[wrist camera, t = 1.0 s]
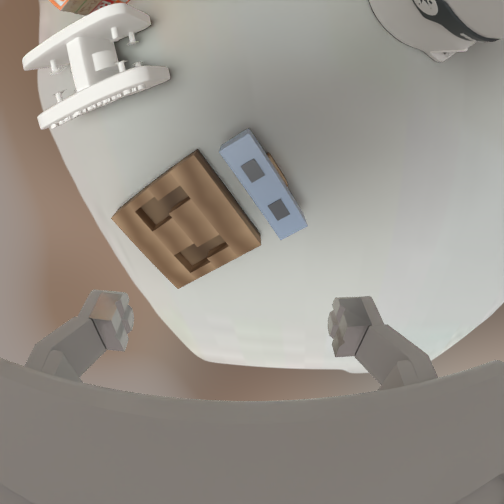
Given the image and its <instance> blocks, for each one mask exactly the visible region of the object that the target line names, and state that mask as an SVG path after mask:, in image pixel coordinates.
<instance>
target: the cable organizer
mask: <svg viewBox="0 0 504 504" xmlns="http://www.w3.org/2000/svg"><path fill="white" fill-rule="evenodd" d="M150 25H151V22H150V17H149V15H148V14H146V13H144V12H142V11H140V10H138V9H136V8H134V7H132V6H130V5H128V4H126V3H116V4H111V5H108V6H105V7H102V8H100V9H98V10H96V11H94V12H92V13H90V14H88V15H87V16H85V17H83V18H81V19H79V20H77V21H76V22H74V23H72V24H71V25H69V26H67V27H66V28H64V29H62V30H61V31H59V32H58V33H56V34H54V35H53V36H51V37H50V38H48V39H47V40H45V41H44V42H42V43H41V44H40V45H38V46H37V47H35V48H34V49H33V50H31V51H30V52H29V53H27V54H26V55H25V56H24V58H23V59H22V63H23V68H24V70H33V69H41V68H49V67H51V68H52V72H51V73H52V74H51V75H54V74H57V73H59V72H61V71H62V70H63V69H65V68H66V67H65V68H62V69H61V68H59V69H58V68H57V67H59V66H64V65H67V64H70V66H71V70H72V74H73V79H74V83H75V87H76V91H77V93H75V94H73V95H71V96H69V97H68V98H66V99H64V100H63V98H62V94H61V93H63V92H64V91H66V90H64V91H60V92H58V93H56V94H54V95H55V96H56V99H57V102H58V103H57V104H55V105H53V106H52V107H50V108H48V109H47V110H45V111H44V112H42V113H41V114H40V115H39V116H38V117H37V118H38V122H39V125H40V129H46V128H49V127H51V128H52V129H53V128H55V127H57V126H59V125H62V124H63V123H66V122H67V121H69V120H72V119H73V118H76V117H78V116H80V115H82V114H85V113H87V112H89V111H92V110H94V109H96V108H98V107H101V106H104V105H107V104H109V103H112V102H113V101H115V100H117V99H120V98H122V97H125V96H129V95H132V94H135V93H137V92H140V91H143V90H146V89H149V88H151V87H153V86H156V85H158V84H161V83H163V82H166V81H168V80H169V79H170V74H169V70H168V67H162V66H148V65H145V66H141V63H143V62H141V61H140V62H137V63H134V65H135V66H136V67H134V68H131V69H128V70H126V69H125V65H124V62H127V61H124V60H123V61H120V62H118V58H117V54H116V50H115V45H114V42H115V41H118V40H120V39H122V38H124V37H127V36H129V40H130V42H129V43H128V44H127V45H131V44H135V43H137V42H140V41H137V42H136V40H135V36H134V33H137V32H139V31H141V30H144V29H146V28H147V27H149V26H150ZM132 66H133V65H132ZM51 75H50V76H51Z"/></svg>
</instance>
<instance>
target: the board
mask: <svg viewBox="0 0 504 504" xmlns="http://www.w3.org/2000/svg"><path fill="white" fill-rule="evenodd" d="M111 219H112V220H113V221H114V222H115V223H116V224H117V225H118V227H119V228H120V229H121V230H122V231H123V232H124V233H125V234H126V235H127V237H128V238H129V239H130V240H131V241H132V242H133V243H134V244H135V245H136V246H137V247H138V248H139V249H140V251H141V252H142V253H143V254H144V255H145V256H146V257H147V258H148V259H149V260H150V261H151V262H152V263H153V264H154V265H155V266H156V267H157V268H158V269H159V270H160V271H161V272H162V273H163V275H164V276H165V277H166V278H167V279H168V280H169V281H170V282H171V283H172V284H173V285H174V286H175V287H176V288H177V289H179V288H181V287H183V286H185V285H186V284H188V283H190V282H192V281H194V280H196V279H198V278H200V277H202V276H203V275H205V274H207V273H209V272H211V271H213V270H215V269H217V268H219V267H220V266H222V265H224V264H226V263H228V262H230V261H232V260H234V259H236V258H237V257H239V256H241V255H243V254H245V253H247V252H249V251H251V250H253V249H254V248H256V247H258V246H260V245H261V237H260V233H259V232H258V230H257V229H256V228H255V226H254V225H253V224H252V222H251V221H250V219H249V218H248V217H247V215H246V214H245V213H244V211H243V210H242V208H241V207H240V206H239V204H238V203H237V202H236V200H235V199H234V197H233V196H232V195H231V193H230V192H229V191H228V189H227V188H226V187H225V185H224V184H223V182H222V181H221V180H220V178H219V177H218V176H217V174H216V173H215V172H214V170H213V169H212V168H211V166H210V165H209V164H208V162H207V161H206V160H205V158H204V157H203V156H202V154H201V153H200V152H199V150H198V149H197V150H195V151H194V152H192V153H191V154H190V155H188V156H187V157H185V158H184V159H183V160H181V161H180V162H178V163H177V164H176V165H174V166H173V167H171V168H170V169H169V170H167V171H166V172H165V173H163V174H162V175H161V176H159V177H158V178H157V179H155V180H154V181H153V182H152V183H150V184H149V185H148V186H146V187H145V188H144V189H143V190H141V191H140V192H139V193H138V194H136V195H135V196H134V197H133V198H131V199H130V200H129V201H128V202H126V203H125V204H124V205H123V206H122V207H120V208H119V209H118V210H117V212H116V213H115V214H114V215H113V217H112V218H111Z"/></svg>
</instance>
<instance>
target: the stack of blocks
mask: <svg viewBox="0 0 504 504" xmlns="http://www.w3.org/2000/svg"><path fill="white" fill-rule="evenodd" d="M49 1H50V2H51V3H52V4H53V5H54V6H56V7H57V8H58V9H59V10H60V11H67V12H73V13H75V14H81V15H88V14H90V13H92V12H94V11H96V10H98V9H100V8H102V7H105V6H108V5H111V4H116V3H127V2H129V1H130V0H49Z"/></svg>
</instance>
